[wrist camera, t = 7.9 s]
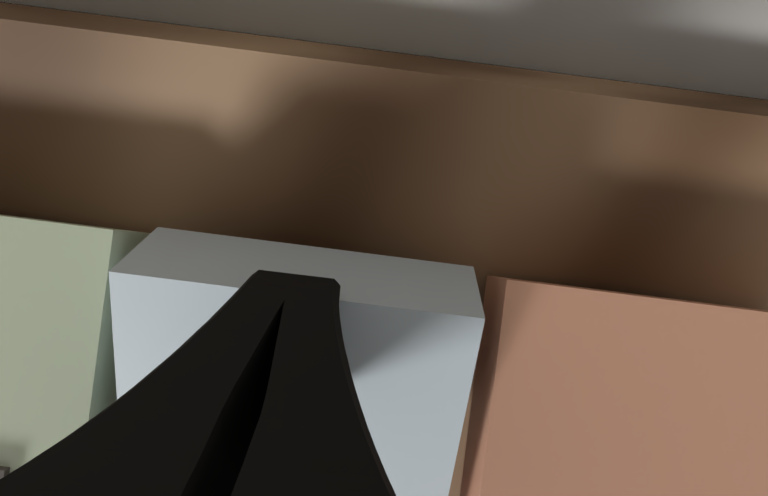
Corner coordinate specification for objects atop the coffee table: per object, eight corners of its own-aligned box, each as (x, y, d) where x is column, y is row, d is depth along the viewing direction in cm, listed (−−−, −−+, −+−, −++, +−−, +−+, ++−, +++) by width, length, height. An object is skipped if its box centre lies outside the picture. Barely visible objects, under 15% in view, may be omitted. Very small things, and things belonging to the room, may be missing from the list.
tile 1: (770, 310, 13) (849, 323, 11) (735, 594, 13) (808, 665, 11) (486, 275, 13) (509, 279, 11) (451, 560, 13) (466, 624, 11)
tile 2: (473, 266, 11) (486, 323, 9) (427, 505, 14) (429, 591, 12) (157, 226, 11) (104, 276, 9) (165, 473, 14) (122, 553, 12)
